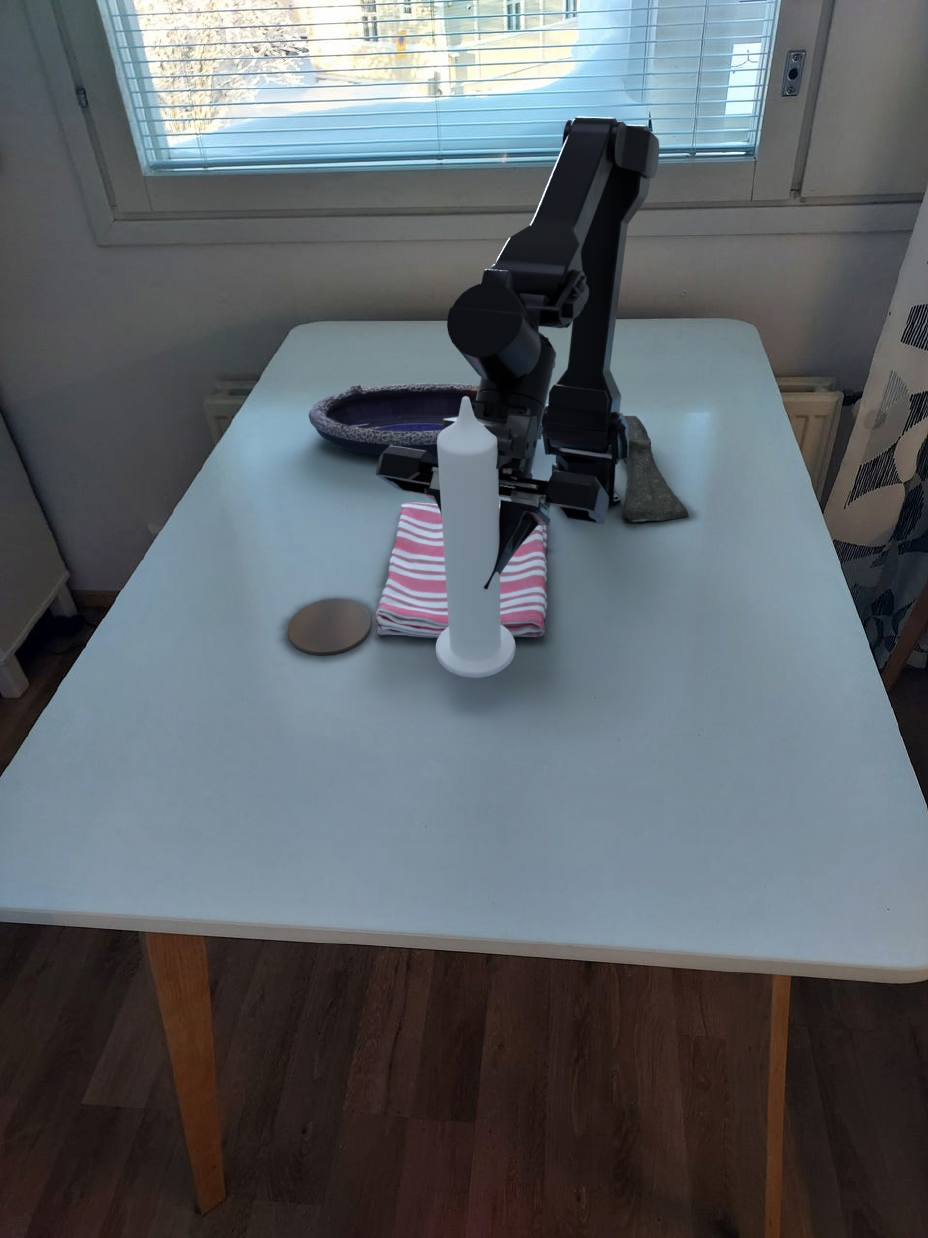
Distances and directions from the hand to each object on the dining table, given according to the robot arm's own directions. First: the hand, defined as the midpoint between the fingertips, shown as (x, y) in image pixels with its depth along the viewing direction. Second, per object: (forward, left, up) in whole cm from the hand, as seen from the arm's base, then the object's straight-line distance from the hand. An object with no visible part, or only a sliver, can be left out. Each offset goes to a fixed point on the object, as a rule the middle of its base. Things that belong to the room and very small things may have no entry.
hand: (469, 586), depth 76 cm
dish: (-12, -48, -13) cm, 52 cm away
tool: (-33, -27, -13) cm, 45 cm away
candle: (-1, -1, -9) cm, 9 cm away
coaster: (+10, -16, -13) cm, 23 cm away
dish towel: (-6, -18, -13) cm, 24 cm away
